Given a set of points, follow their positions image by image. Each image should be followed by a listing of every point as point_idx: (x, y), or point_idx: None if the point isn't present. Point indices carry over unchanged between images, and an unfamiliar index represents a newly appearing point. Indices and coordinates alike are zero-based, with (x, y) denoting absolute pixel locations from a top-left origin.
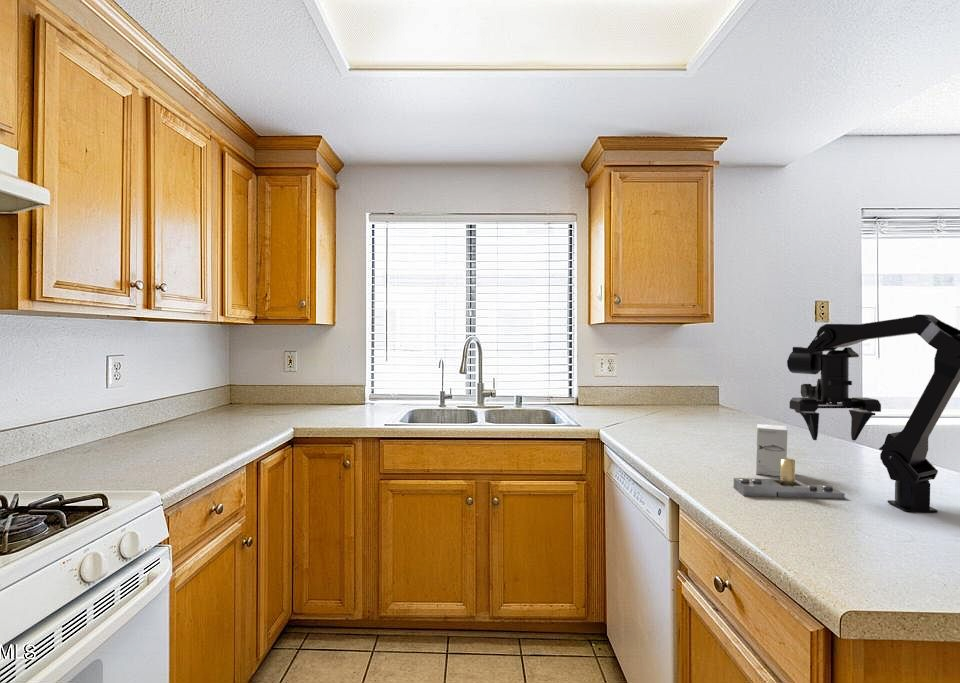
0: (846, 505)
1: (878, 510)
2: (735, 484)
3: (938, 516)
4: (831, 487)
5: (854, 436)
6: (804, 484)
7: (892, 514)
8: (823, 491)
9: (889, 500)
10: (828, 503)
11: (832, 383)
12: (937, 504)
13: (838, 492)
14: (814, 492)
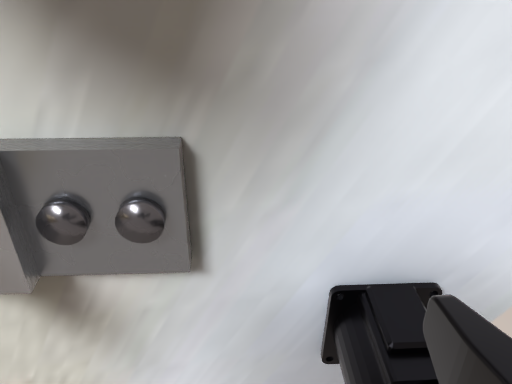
0: (162, 319)
1: (244, 349)
2: None
3: None
4: (153, 237)
5: (440, 373)
6: (14, 252)
7: (264, 372)
8: (108, 253)
9: (339, 292)
10: (104, 308)
11: None
12: (506, 277)
13: (171, 259)
14: (61, 270)
